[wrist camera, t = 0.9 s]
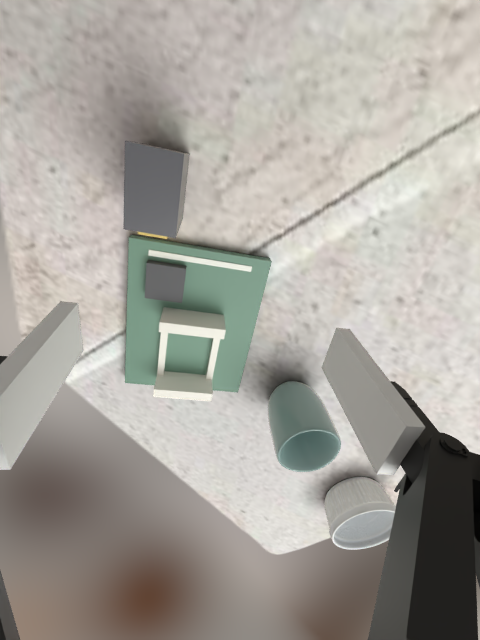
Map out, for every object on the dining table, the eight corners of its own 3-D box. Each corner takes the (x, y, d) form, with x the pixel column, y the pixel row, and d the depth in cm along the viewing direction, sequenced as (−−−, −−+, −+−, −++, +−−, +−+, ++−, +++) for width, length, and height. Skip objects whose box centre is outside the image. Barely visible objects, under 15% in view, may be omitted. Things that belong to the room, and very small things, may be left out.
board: (131, 234, 31) (120, 247, 27) (269, 258, 34) (278, 272, 30) (127, 376, 40) (118, 402, 36) (237, 386, 43) (240, 411, 38)
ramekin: (396, 488, 60) (417, 526, 54) (342, 518, 64) (357, 557, 57) (361, 462, 54) (381, 500, 48) (305, 496, 58) (317, 536, 52)
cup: (254, 406, 45) (266, 467, 36) (276, 367, 42) (295, 423, 33) (300, 416, 47) (321, 476, 38) (324, 379, 44) (353, 436, 35)
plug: (145, 144, 27) (125, 140, 20) (189, 153, 28) (184, 154, 21) (142, 217, 30) (123, 236, 23) (182, 224, 31) (175, 245, 24)
